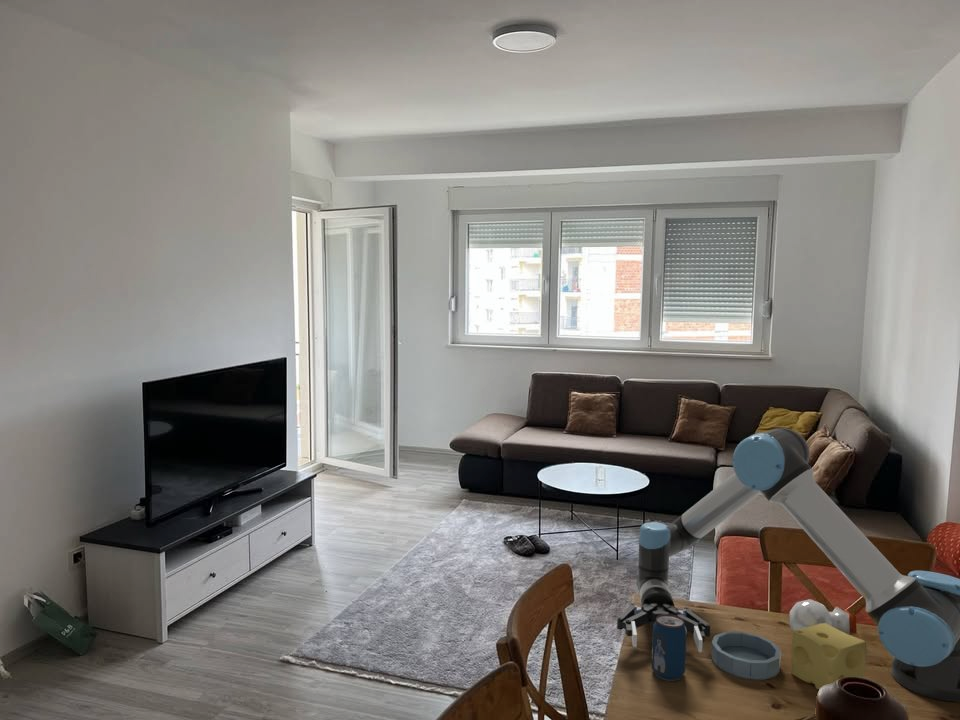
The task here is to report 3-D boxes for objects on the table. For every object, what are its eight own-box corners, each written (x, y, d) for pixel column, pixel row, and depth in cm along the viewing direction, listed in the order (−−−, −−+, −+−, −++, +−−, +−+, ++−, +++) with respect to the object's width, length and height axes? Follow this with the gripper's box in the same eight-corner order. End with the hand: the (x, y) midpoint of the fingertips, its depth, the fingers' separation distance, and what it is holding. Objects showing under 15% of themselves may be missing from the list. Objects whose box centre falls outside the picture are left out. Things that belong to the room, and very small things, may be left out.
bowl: (782, 656, 160) (783, 640, 160) (776, 686, 148) (777, 669, 148) (717, 641, 167) (718, 626, 166) (706, 669, 154) (707, 652, 154)
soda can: (685, 668, 154) (687, 615, 153) (684, 685, 148) (686, 629, 147) (652, 663, 157) (654, 610, 155) (649, 679, 150) (652, 624, 149)
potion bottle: (784, 644, 169) (839, 646, 172) (810, 637, 161) (867, 639, 164) (776, 604, 174) (829, 606, 177) (800, 594, 166) (856, 598, 169)
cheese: (829, 698, 144) (832, 651, 143) (787, 672, 154) (789, 628, 153) (865, 687, 148) (868, 641, 147) (821, 663, 158) (824, 619, 157)
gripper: (709, 620, 171) (727, 665, 150) (604, 612, 174) (607, 655, 153) (710, 589, 170) (729, 631, 149) (605, 582, 174) (608, 622, 153)
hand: (667, 643), depth 151 cm, fingers open, 13 cm apart
